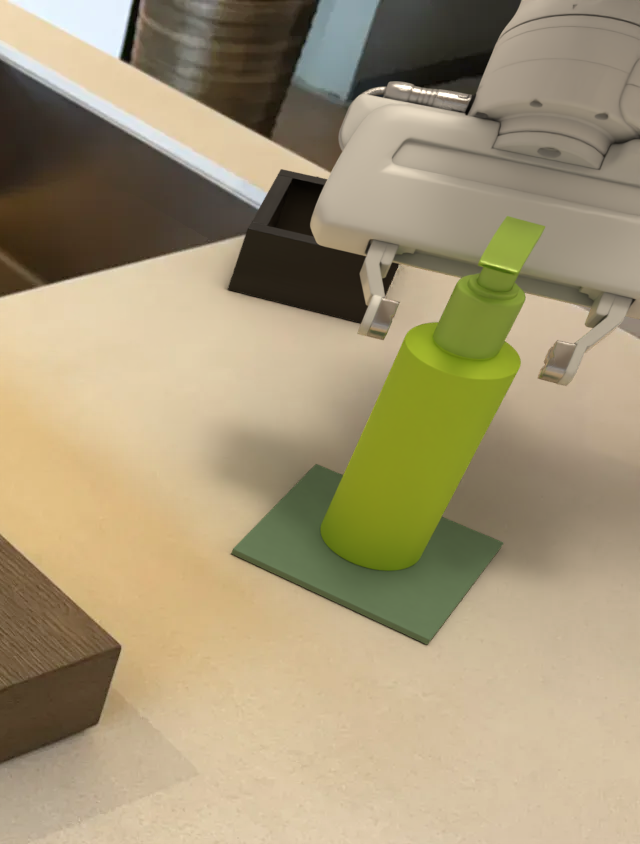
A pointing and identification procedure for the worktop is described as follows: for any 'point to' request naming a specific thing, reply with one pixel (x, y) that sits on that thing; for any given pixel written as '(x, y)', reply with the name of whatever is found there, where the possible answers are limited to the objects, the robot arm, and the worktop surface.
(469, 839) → the worktop surface
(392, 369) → the soap dispenser
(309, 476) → the mat
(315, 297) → the box
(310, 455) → the worktop surface
